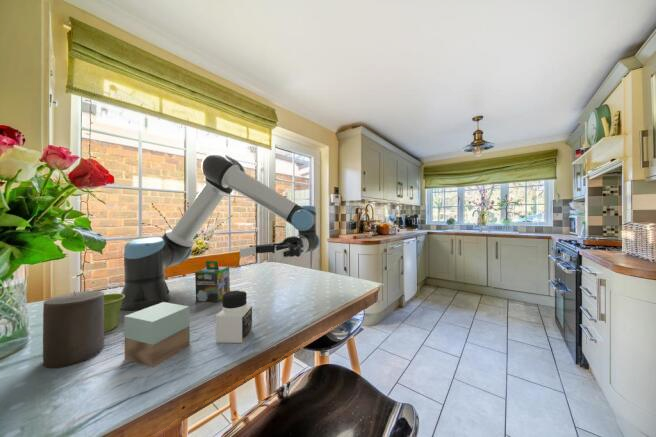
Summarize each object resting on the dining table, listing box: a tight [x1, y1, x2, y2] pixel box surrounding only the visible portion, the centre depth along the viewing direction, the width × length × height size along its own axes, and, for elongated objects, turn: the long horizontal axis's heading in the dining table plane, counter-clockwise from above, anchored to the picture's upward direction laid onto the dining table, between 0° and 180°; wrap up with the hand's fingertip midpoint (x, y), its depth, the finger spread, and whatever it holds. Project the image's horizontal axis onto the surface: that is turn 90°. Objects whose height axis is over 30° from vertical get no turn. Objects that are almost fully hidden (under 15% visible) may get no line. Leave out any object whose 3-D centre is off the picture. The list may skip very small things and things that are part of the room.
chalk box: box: [194, 260, 231, 303], centre depth 92 cm, size 9×9×15 cm
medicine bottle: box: [215, 289, 253, 344], centre depth 64 cm, size 7×7×12 cm
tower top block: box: [123, 301, 190, 345], centre depth 56 cm, size 9×9×5 cm
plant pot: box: [104, 293, 125, 333], centre depth 67 cm, size 9×9×9 cm
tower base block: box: [124, 326, 191, 368], centre depth 56 cm, size 9×9×5 cm
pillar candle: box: [42, 290, 105, 369], centre depth 55 cm, size 10×10×15 cm
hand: (257, 254), depth 72 cm, fingers open, 13 cm apart
